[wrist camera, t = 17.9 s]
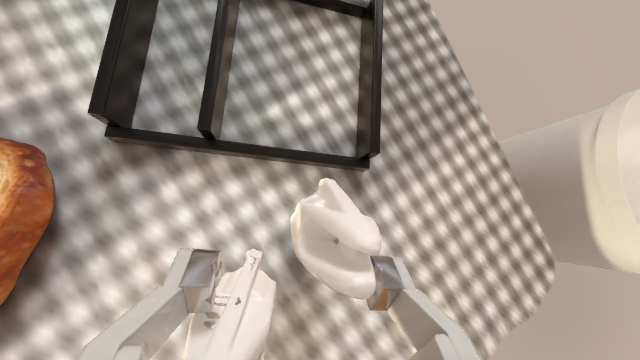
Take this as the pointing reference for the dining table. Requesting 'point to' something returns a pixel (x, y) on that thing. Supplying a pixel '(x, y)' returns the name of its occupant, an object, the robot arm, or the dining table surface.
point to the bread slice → (21, 207)
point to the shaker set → (260, 291)
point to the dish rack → (129, 58)
